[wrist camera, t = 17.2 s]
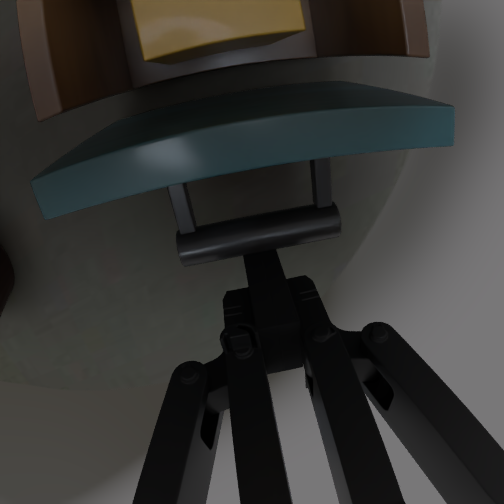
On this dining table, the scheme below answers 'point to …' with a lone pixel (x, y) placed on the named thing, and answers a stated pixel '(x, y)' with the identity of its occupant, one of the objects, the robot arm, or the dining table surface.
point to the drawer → (222, 116)
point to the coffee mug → (5, 278)
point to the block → (211, 26)
